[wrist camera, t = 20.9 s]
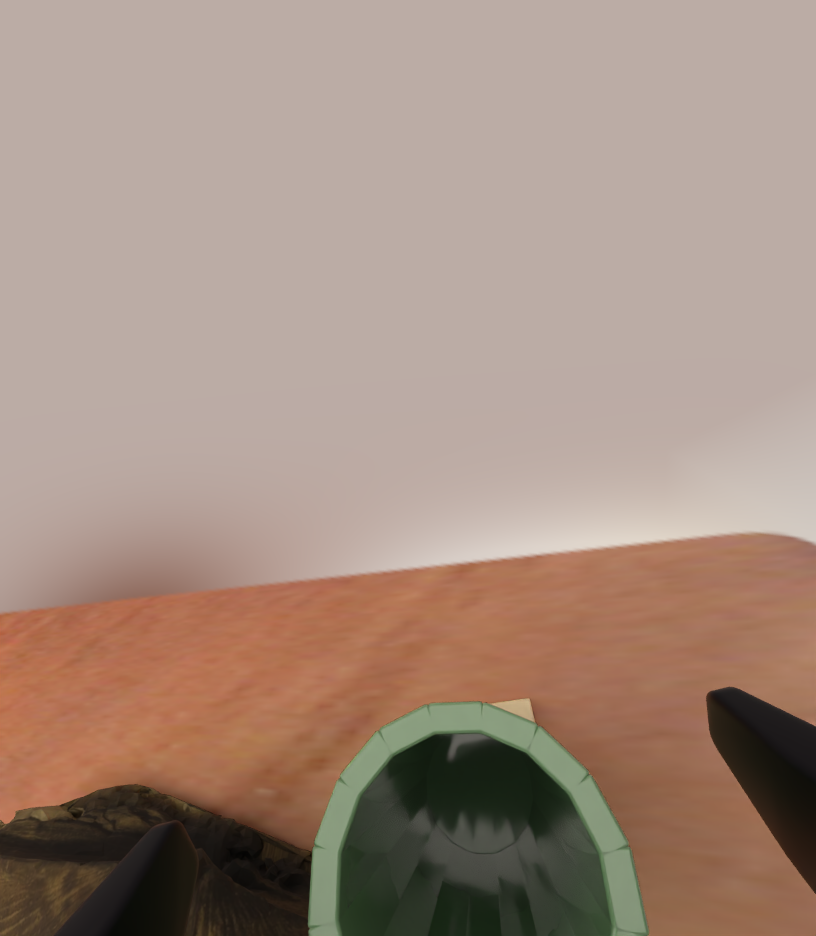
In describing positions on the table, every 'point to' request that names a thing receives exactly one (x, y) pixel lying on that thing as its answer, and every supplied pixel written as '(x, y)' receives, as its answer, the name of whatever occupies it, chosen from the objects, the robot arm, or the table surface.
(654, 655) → the table surface
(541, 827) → the green cylinder
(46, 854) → the seashell
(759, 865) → the table surface
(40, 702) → the table surface
